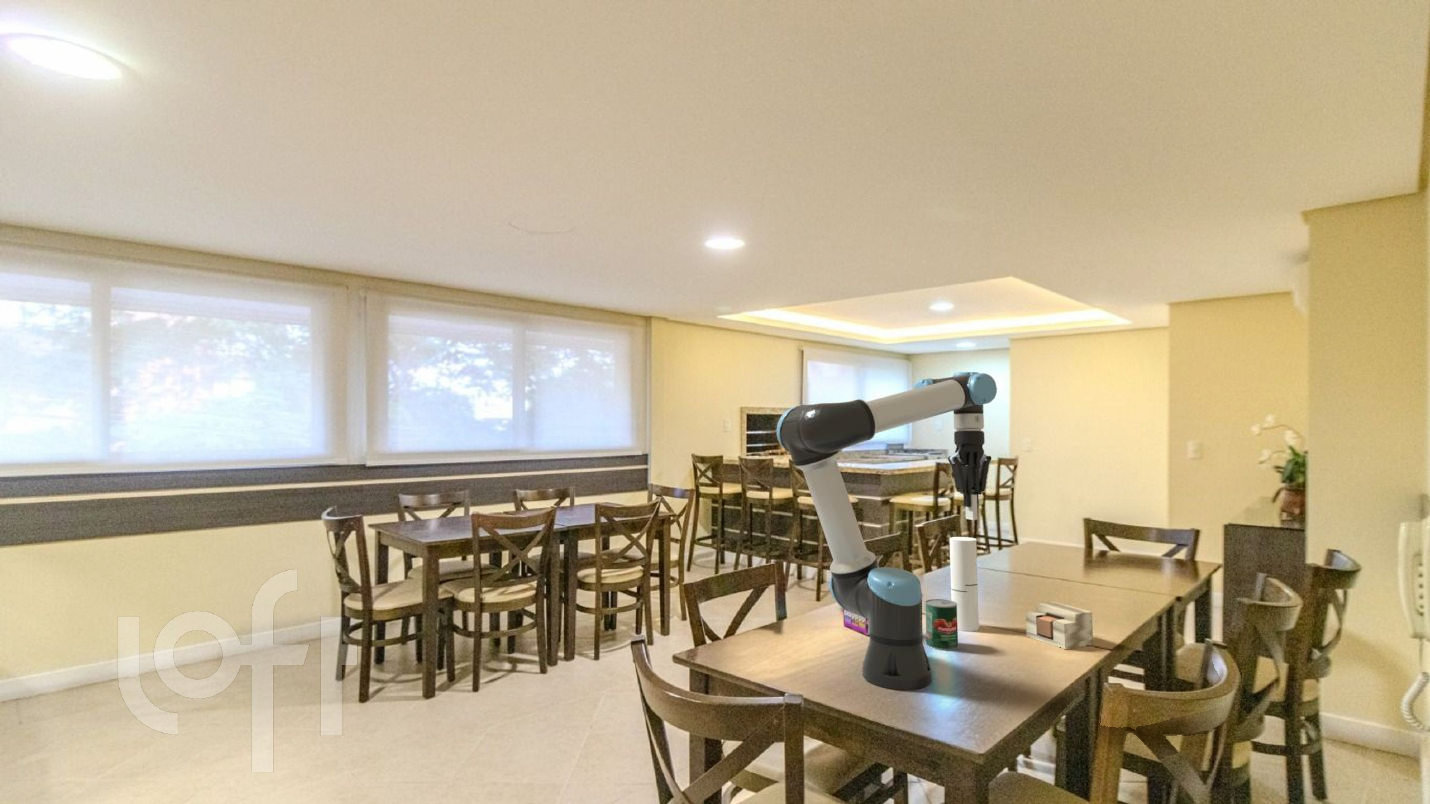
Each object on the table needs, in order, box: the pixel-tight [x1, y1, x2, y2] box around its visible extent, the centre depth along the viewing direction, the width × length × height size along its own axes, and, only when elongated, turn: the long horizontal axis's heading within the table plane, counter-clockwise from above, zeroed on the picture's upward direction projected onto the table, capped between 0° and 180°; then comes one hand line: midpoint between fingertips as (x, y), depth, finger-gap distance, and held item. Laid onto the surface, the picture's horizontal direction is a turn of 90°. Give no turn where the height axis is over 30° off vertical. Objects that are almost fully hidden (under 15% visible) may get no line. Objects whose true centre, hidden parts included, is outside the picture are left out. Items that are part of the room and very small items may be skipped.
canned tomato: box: [924, 598, 959, 651], centre depth 169 cm, size 8×8×11 cm
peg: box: [1037, 616, 1060, 637], centre depth 172 cm, size 10×4×4 cm, turn 112°
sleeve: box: [1025, 601, 1094, 650], centre depth 172 cm, size 10×12×8 cm
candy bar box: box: [842, 607, 870, 636], centre depth 184 cm, size 11×5×16 cm, turn 25°
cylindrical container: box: [949, 536, 980, 632], centre depth 185 cm, size 7×7×25 cm
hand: (971, 519), depth 172 cm, fingers closed
